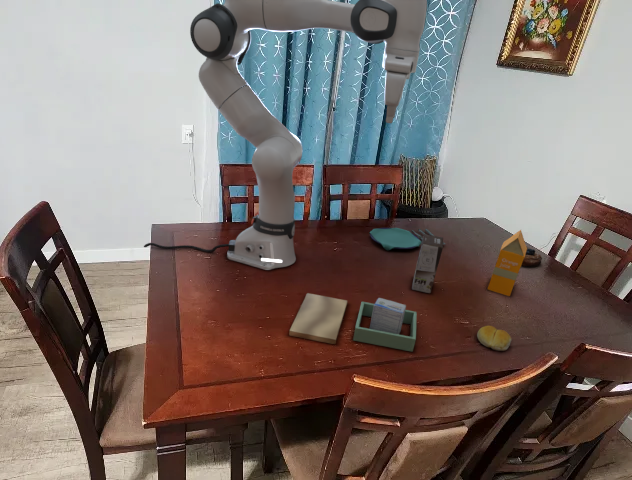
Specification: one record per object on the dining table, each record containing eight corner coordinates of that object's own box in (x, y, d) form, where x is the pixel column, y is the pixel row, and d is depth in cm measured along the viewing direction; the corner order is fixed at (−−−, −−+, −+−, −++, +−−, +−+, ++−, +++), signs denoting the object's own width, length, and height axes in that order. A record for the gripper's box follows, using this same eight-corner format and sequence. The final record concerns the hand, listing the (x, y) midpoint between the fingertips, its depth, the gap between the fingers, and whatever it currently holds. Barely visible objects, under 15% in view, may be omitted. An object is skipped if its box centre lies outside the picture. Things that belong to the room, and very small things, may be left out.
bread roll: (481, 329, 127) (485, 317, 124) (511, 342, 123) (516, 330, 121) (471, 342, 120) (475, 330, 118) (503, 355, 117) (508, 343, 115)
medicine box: (400, 331, 120) (407, 304, 116) (396, 340, 117) (403, 312, 112) (373, 323, 122) (378, 296, 117) (368, 331, 118) (373, 304, 114)
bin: (353, 340, 114) (355, 327, 112) (359, 313, 126) (361, 301, 123) (412, 351, 113) (415, 339, 111) (413, 323, 125) (416, 311, 122)
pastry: (524, 253, 180) (529, 240, 177) (543, 267, 171) (549, 253, 168) (502, 254, 177) (507, 240, 173) (520, 268, 167) (526, 254, 164)
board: (289, 335, 112) (289, 330, 112) (306, 297, 129) (307, 293, 128) (335, 344, 112) (335, 339, 111) (346, 304, 128) (347, 300, 128)
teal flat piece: (361, 232, 177) (362, 227, 175) (424, 230, 188) (425, 225, 187) (383, 254, 162) (384, 248, 160) (450, 250, 173) (452, 244, 172)
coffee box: (431, 294, 141) (443, 247, 132) (411, 289, 141) (422, 243, 133) (432, 281, 148) (443, 236, 140) (413, 277, 149) (423, 232, 140)
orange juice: (513, 286, 153) (533, 232, 142) (509, 296, 146) (530, 240, 135) (490, 279, 155) (509, 226, 145) (486, 289, 148) (505, 234, 138)
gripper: (390, 59, 122) (381, 113, 129) (384, 62, 105) (375, 123, 112) (412, 63, 122) (403, 116, 129) (411, 66, 104) (399, 127, 112)
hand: (390, 120), depth 120 cm, fingers open, 8 cm apart
